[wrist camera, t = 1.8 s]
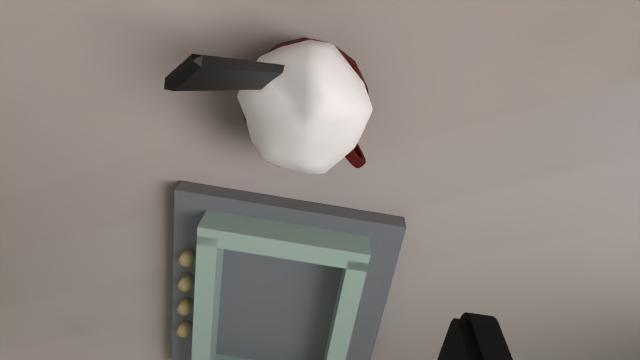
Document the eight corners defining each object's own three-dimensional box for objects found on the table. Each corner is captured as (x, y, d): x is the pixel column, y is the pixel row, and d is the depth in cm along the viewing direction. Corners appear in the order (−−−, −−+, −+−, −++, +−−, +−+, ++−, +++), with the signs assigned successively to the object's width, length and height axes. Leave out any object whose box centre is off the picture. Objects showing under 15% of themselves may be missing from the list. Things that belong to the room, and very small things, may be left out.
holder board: (404, 217, 30) (409, 246, 28) (359, 385, 37) (359, 422, 34) (180, 180, 30) (162, 206, 27) (176, 356, 37) (161, 391, 34)
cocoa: (381, 137, 29) (413, 265, 18) (280, 164, 30) (253, 302, 19) (336, -32, 24) (342, 8, 14) (219, 7, 25) (142, 71, 15)
